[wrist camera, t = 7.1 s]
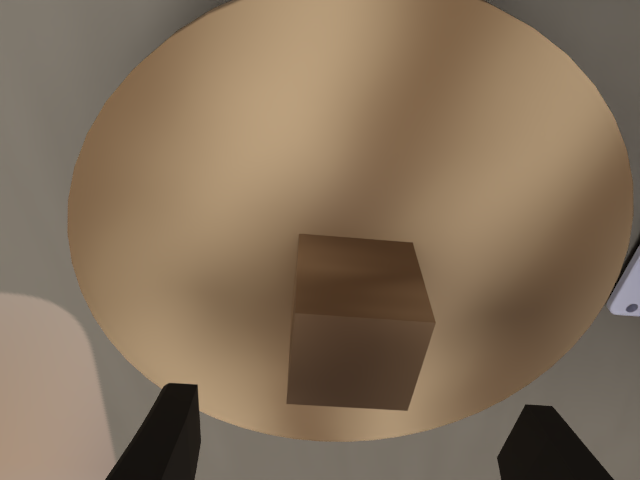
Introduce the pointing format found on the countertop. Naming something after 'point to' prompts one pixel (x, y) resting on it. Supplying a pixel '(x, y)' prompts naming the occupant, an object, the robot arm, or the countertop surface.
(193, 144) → the lid
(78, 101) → the countertop surface
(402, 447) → the countertop surface
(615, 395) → the countertop surface
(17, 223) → the countertop surface
